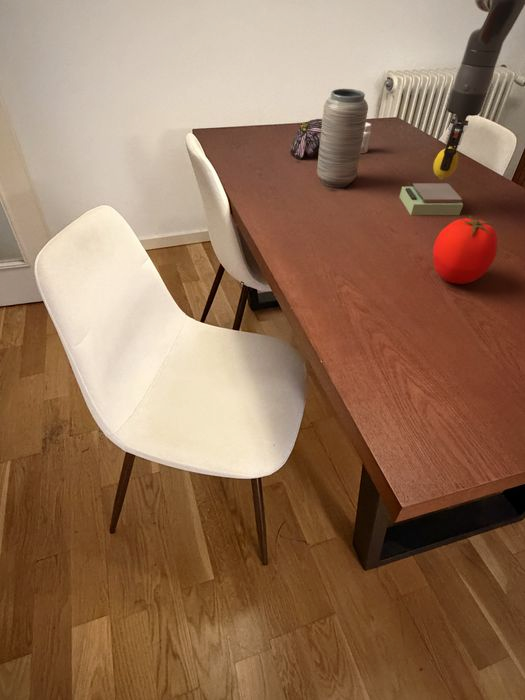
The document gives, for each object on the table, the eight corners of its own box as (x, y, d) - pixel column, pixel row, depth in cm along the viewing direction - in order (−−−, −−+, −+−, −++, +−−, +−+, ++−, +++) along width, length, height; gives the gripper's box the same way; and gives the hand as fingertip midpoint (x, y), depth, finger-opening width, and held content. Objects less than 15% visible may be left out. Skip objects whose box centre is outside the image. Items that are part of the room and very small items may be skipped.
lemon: (430, 182, 103) (440, 149, 97) (429, 174, 107) (438, 142, 101) (452, 184, 102) (464, 151, 96) (450, 176, 106) (461, 144, 100)
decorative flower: (287, 115, 134) (331, 103, 129) (296, 146, 144) (337, 136, 138) (282, 141, 127) (329, 130, 122) (292, 172, 137) (336, 163, 131)
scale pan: (447, 186, 111) (448, 183, 110) (461, 202, 104) (462, 199, 103) (411, 186, 110) (412, 183, 110) (423, 202, 103) (424, 199, 103)
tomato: (491, 278, 85) (520, 220, 76) (464, 302, 79) (492, 243, 70) (441, 256, 91) (462, 200, 82) (412, 278, 85) (432, 219, 76)
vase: (312, 186, 117) (321, 96, 101) (320, 171, 125) (329, 85, 109) (351, 192, 115) (367, 100, 98) (357, 176, 123) (373, 89, 106)
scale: (444, 197, 113) (448, 184, 111) (459, 215, 106) (464, 202, 103) (399, 197, 113) (402, 184, 110) (410, 215, 105) (414, 202, 103)
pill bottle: (359, 147, 141) (364, 121, 135) (370, 151, 138) (375, 124, 133) (350, 150, 139) (354, 123, 133) (361, 154, 136) (366, 127, 130)
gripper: (487, 97, 84) (458, 178, 96) (489, 83, 94) (462, 158, 106) (450, 93, 86) (426, 173, 98) (455, 80, 96) (433, 154, 108)
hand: (445, 165), depth 102 cm, fingers closed on lemon, 5 cm apart
